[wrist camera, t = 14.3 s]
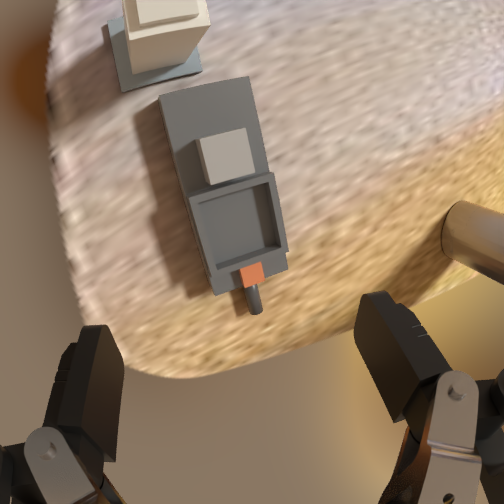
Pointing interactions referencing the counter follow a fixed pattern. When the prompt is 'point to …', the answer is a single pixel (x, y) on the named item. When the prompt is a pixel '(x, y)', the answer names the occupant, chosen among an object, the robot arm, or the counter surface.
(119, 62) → the pad
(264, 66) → the counter surface
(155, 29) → the block
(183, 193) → the power strip
